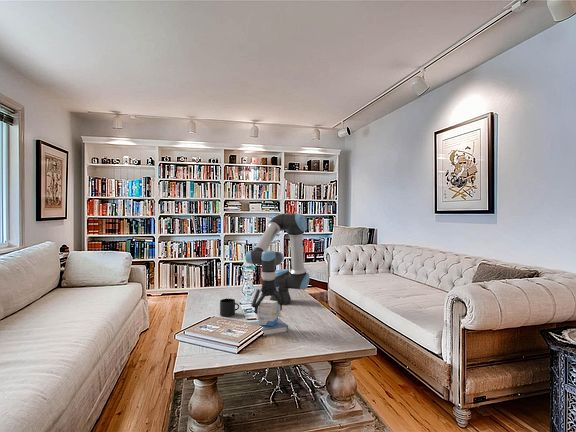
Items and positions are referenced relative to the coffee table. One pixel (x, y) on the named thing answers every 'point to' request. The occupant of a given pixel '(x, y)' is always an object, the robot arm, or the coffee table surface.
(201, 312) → the coffee table surface
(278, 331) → the book
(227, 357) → the coffee table surface
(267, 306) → the ink box
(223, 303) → the mug
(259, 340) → the coffee table surface
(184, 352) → the coffee table surface
